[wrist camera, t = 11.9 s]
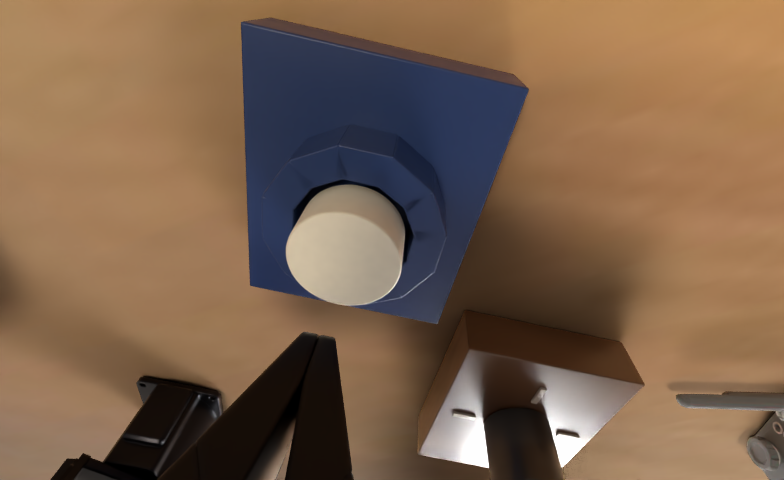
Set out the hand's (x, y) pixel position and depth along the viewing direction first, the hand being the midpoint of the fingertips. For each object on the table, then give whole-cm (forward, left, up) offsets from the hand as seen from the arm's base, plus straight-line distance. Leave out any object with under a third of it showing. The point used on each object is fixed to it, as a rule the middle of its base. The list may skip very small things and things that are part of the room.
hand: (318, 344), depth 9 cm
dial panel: (-13, -12, -10) cm, 20 cm away
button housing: (0, 0, -10) cm, 10 cm away
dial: (-13, -12, -7) cm, 19 cm away
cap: (0, 0, -6) cm, 6 cm away
